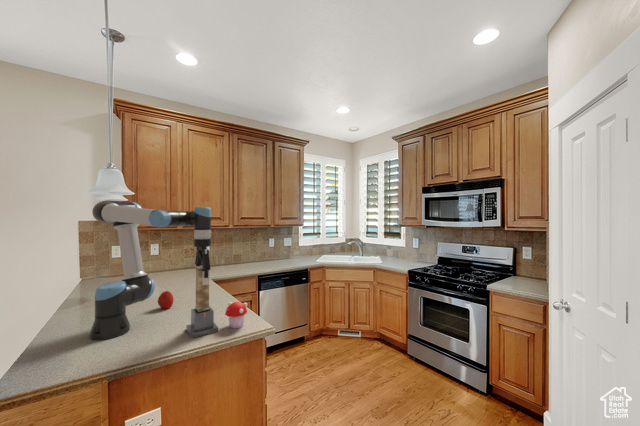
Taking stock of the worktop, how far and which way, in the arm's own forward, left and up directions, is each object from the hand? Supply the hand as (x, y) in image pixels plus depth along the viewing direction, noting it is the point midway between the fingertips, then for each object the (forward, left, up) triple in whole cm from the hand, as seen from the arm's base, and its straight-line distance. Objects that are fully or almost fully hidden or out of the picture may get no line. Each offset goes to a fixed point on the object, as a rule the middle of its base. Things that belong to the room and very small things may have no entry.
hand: (202, 281), depth 132 cm
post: (0, 0, -13) cm, 13 cm away
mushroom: (+16, -5, -24) cm, 29 cm away
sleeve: (0, 0, -24) cm, 24 cm away
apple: (-10, +47, -24) cm, 54 cm away
